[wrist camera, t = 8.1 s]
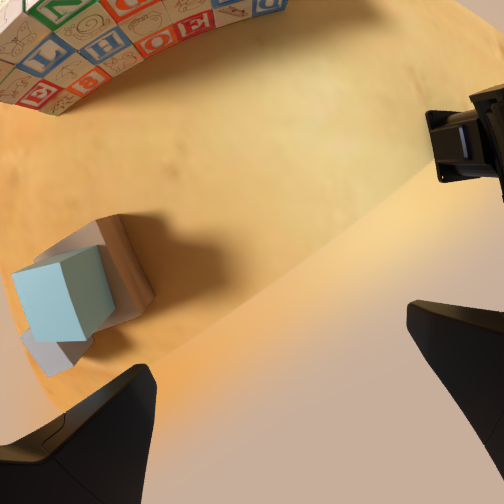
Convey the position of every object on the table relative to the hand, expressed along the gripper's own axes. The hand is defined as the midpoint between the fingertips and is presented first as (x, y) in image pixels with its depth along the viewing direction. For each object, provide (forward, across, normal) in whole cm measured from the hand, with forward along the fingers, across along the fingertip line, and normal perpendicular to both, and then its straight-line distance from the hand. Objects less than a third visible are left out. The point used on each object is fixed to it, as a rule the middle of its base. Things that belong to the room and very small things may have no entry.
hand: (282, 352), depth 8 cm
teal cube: (+9, +12, -2) cm, 15 cm away
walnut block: (+13, +12, -2) cm, 18 cm away
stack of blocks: (+13, +4, -21) cm, 25 cm away
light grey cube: (+13, +19, +3) cm, 23 cm away
